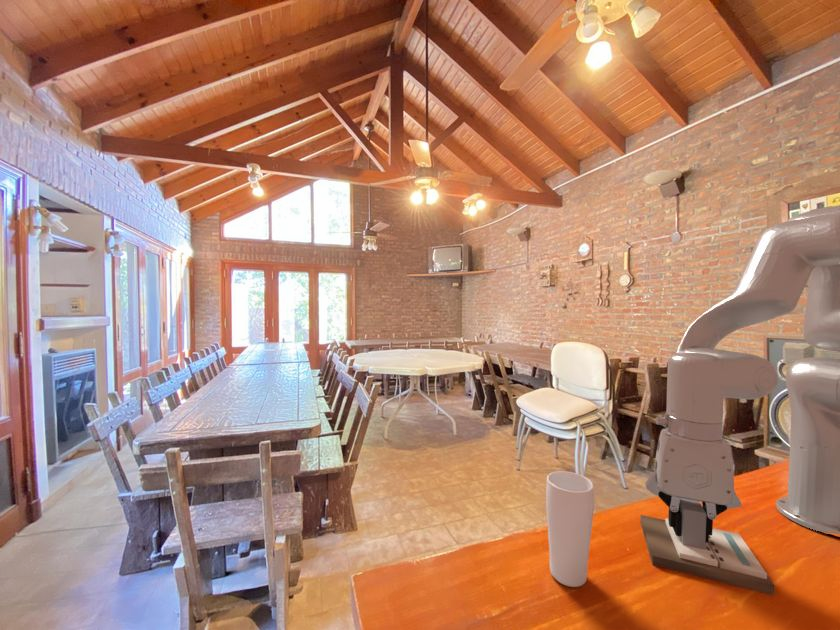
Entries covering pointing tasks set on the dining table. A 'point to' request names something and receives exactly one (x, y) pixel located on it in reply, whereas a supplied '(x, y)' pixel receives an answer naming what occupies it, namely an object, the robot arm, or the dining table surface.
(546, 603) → the dining table surface
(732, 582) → the board
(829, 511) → the robot arm
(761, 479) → the dining table surface
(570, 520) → the drinking glass
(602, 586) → the dining table surface
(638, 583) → the dining table surface
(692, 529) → the stub
